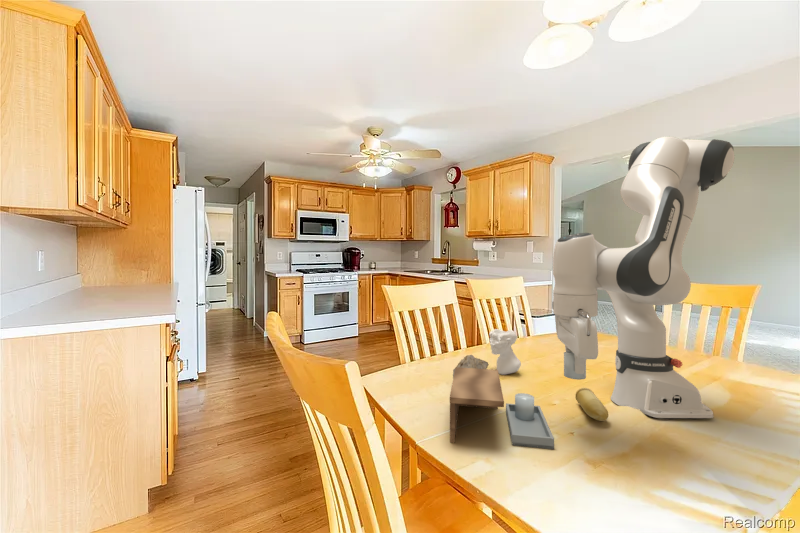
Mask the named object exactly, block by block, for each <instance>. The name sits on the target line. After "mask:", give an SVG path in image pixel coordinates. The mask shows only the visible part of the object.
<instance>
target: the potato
mask: <svg viewBox="0 0 800 533" xmlns="http://www.w3.org/2000/svg"><path fill="white" fill-rule="evenodd" d="M575 400H576V402H577V404H579V405H580V407H581V408H582V409H583V412H585V414H586V415H587V416H588V417H590V418H591V419H594V420H596V421H599V422H602V421H606V420H607V419H608V418H609V410H608V409H607V408H606V406H605V405H604V403H603V402H602V401H601V400H600V399H599V398H598V396H596V394H595V393H594V391H592V390H591V389H590V388H587V387H581V388H579V389H578V390H577V391H576V392H575Z"/></svg>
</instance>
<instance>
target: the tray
mask: <svg viewBox="0 0 800 533" xmlns="http://www.w3.org/2000/svg"><path fill="white" fill-rule="evenodd" d="M505 413H506V414H505V415H506V419H507V424H508V430H509V436H510V439H511V445H512V446H514V447H515V446H517V447H523V448H524V447H525V448H535V449H544V450H545V449H547V450H555V438H554V434H553V433H552V431H551V428H550V426H549V423H548V422H547V420H546V417H545V415H544V413H543V409H542V407H541V406H540V405H534V419H533V420H531V421H523V420H520V419H517V418H516V417H515V403H505Z"/></svg>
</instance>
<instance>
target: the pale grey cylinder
mask: <svg viewBox="0 0 800 533" xmlns="http://www.w3.org/2000/svg"><path fill="white" fill-rule="evenodd" d="M514 404H515V417H516V418H517V419H520V420H523V421H531V420H533V419H534V406H535V396H533V394H532V395H531V394H529V393H525V392H523V393H522V392H520V393H515V395H514Z"/></svg>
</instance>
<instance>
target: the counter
mask: <svg viewBox="0 0 800 533" xmlns="http://www.w3.org/2000/svg"><path fill="white" fill-rule="evenodd" d="M455 367H456V366H455ZM455 367H454V369H455V373H454V378H453V377H452V383H451V384H452V385H451V389H450V394H449V442H450V443H453V444H454V443H455V442H456V435H457V426H458V417H459V410H460V407H469V408H477V409H478V408H480V409H492V410H493V409H494V410H498V409H499V408H505V399H504V394H503V390H502V384H501V380H500V374H499V373H498V370H497V369H491V368H490V369H489V368H487V369H475V368H458V367H456V368H455Z"/></svg>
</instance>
